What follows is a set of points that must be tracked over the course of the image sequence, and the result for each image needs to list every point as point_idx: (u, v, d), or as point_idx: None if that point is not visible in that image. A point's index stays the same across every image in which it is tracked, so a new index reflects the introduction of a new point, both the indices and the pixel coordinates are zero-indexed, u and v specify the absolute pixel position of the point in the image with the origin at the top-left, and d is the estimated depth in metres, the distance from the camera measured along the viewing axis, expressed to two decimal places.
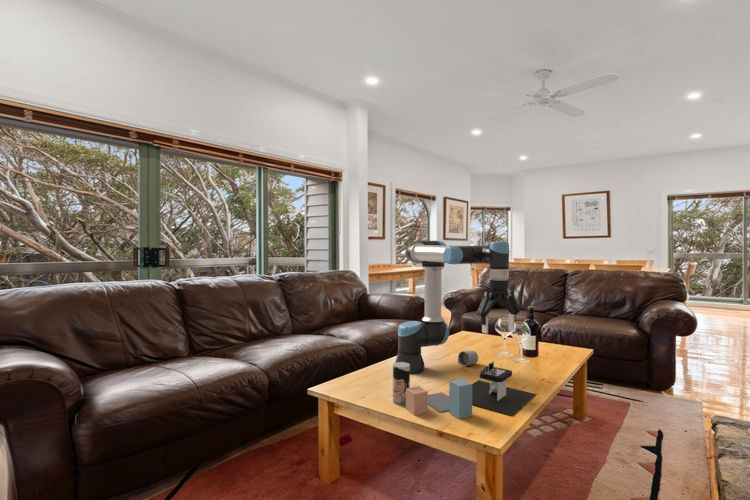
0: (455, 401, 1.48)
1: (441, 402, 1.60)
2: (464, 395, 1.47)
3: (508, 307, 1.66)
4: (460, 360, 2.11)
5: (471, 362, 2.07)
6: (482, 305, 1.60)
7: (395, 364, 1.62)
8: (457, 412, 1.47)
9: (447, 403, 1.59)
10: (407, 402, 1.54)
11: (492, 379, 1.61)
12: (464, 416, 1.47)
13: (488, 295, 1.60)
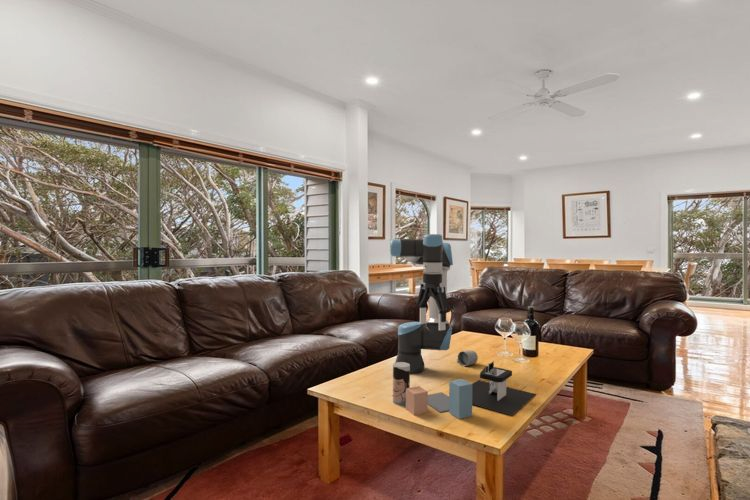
0: (455, 401, 1.48)
1: (441, 402, 1.60)
2: (464, 395, 1.47)
3: None
4: (459, 360, 2.12)
5: (470, 362, 2.07)
6: None
7: (395, 364, 1.62)
8: (457, 412, 1.47)
9: (447, 403, 1.59)
10: (407, 402, 1.54)
11: (492, 379, 1.61)
12: (464, 416, 1.47)
13: (421, 287, 1.65)
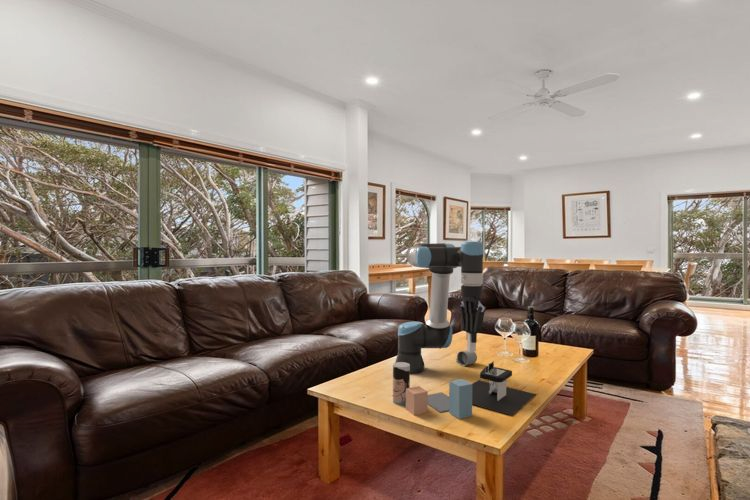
0: (455, 401, 1.48)
1: (441, 402, 1.60)
2: (464, 395, 1.47)
3: None
4: (459, 360, 2.12)
5: (470, 362, 2.07)
6: None
7: (395, 364, 1.62)
8: (457, 412, 1.47)
9: (447, 403, 1.59)
10: (407, 402, 1.54)
11: (492, 379, 1.61)
12: (464, 416, 1.47)
13: (459, 305, 1.48)
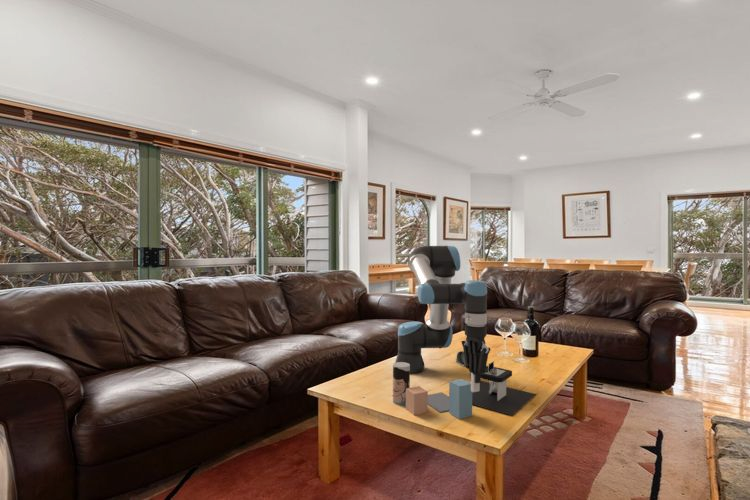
0: (455, 401, 1.48)
1: (441, 402, 1.60)
2: (464, 395, 1.47)
3: None
4: (458, 359, 2.12)
5: None
6: None
7: (395, 364, 1.62)
8: (457, 412, 1.47)
9: (447, 403, 1.59)
10: (407, 402, 1.54)
11: (492, 379, 1.61)
12: (464, 416, 1.47)
13: (463, 344, 1.47)
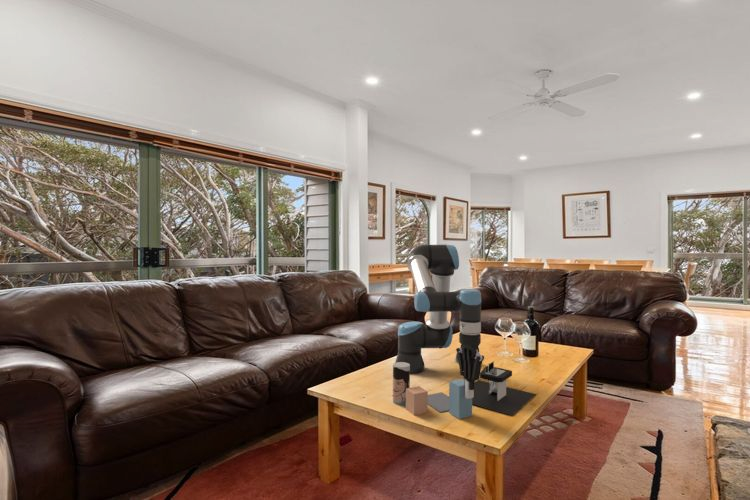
0: (455, 401, 1.48)
1: (441, 402, 1.60)
2: (464, 395, 1.47)
3: None
4: None
5: None
6: None
7: (395, 364, 1.62)
8: (457, 412, 1.47)
9: (447, 403, 1.59)
10: (407, 402, 1.54)
11: (492, 379, 1.61)
12: (464, 416, 1.47)
13: (457, 351, 1.50)
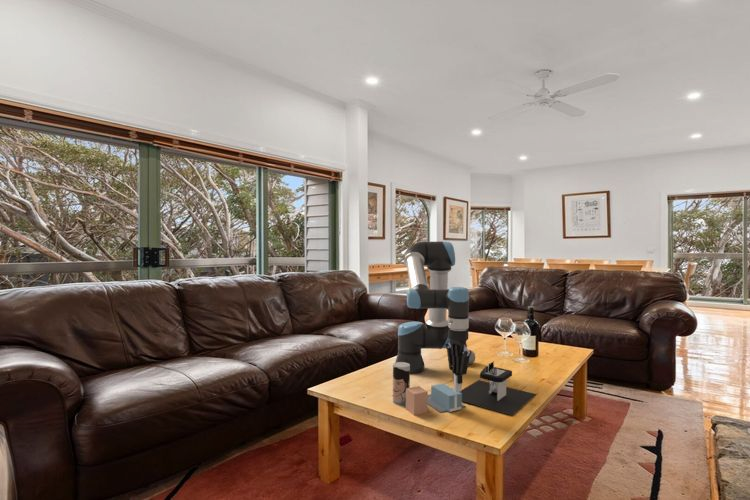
0: (440, 397, 1.57)
1: None
2: (441, 387, 1.60)
3: None
4: None
5: None
6: None
7: (395, 364, 1.62)
8: (445, 396, 1.53)
9: None
10: (407, 402, 1.54)
11: (492, 379, 1.61)
12: (453, 394, 1.53)
13: (446, 347, 1.56)
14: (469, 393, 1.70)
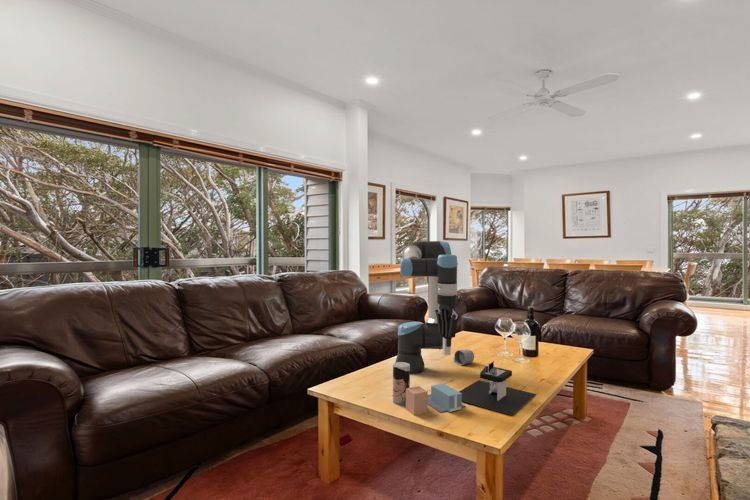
0: (440, 397, 1.57)
1: None
2: (441, 387, 1.60)
3: None
4: (456, 359, 2.13)
5: (467, 361, 2.09)
6: None
7: (395, 364, 1.62)
8: (445, 396, 1.53)
9: None
10: (407, 402, 1.54)
11: (492, 379, 1.61)
12: (453, 394, 1.53)
13: (436, 312, 1.62)
14: (469, 393, 1.70)
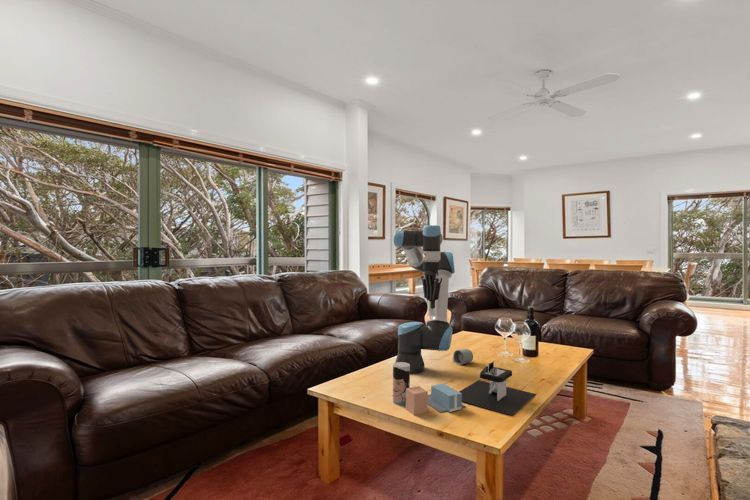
0: (440, 397, 1.57)
1: None
2: (441, 387, 1.60)
3: None
4: (455, 358, 2.14)
5: (466, 360, 2.09)
6: None
7: (395, 364, 1.62)
8: (445, 396, 1.53)
9: None
10: (407, 402, 1.54)
11: (492, 379, 1.61)
12: (453, 394, 1.53)
13: (422, 278, 1.79)
14: (469, 393, 1.70)
